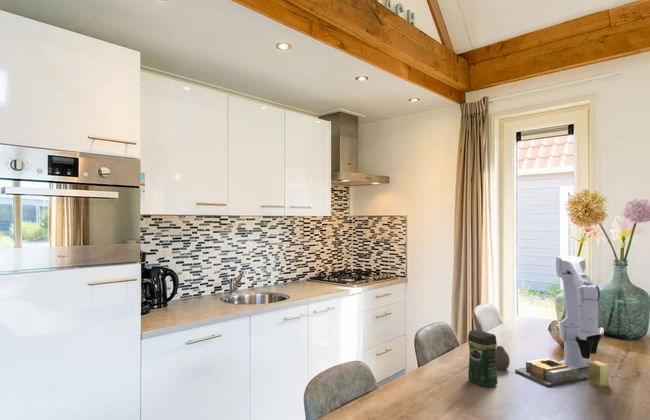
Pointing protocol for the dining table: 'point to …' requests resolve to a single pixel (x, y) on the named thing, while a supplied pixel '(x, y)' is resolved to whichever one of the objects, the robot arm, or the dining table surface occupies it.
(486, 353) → the coffee jar
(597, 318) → the robot arm
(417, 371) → the dining table surface
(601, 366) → the rectangular block
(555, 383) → the rosette base
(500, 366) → the vase
